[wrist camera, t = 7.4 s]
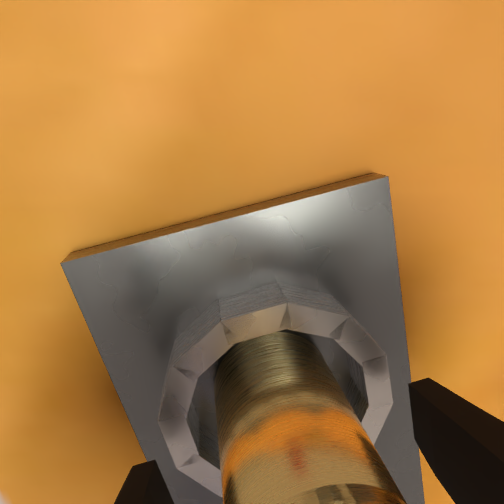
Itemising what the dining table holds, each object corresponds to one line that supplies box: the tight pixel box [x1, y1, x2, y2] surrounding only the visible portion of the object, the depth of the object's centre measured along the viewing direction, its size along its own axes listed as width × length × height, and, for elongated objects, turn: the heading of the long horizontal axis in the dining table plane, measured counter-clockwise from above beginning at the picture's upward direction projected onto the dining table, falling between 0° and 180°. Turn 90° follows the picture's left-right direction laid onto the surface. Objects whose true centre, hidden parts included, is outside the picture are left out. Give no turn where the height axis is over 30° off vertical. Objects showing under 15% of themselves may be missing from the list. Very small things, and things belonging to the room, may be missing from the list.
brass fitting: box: [214, 332, 407, 504], centre depth 10 cm, size 4×4×7 cm
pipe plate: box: [60, 173, 425, 504], centre depth 14 cm, size 18×10×2 cm, turn 13°
